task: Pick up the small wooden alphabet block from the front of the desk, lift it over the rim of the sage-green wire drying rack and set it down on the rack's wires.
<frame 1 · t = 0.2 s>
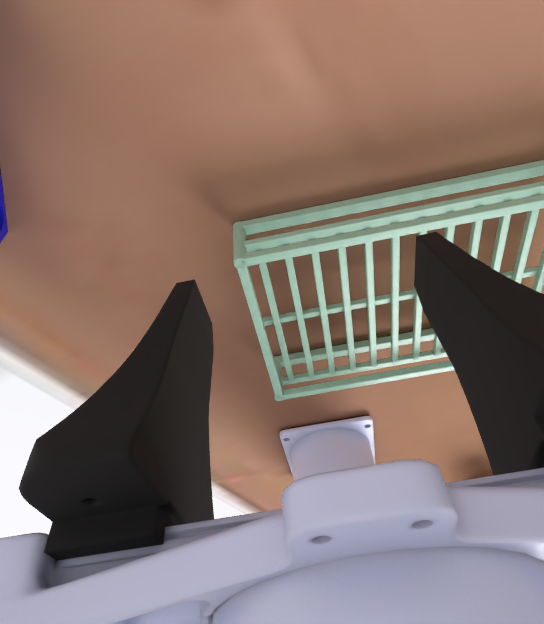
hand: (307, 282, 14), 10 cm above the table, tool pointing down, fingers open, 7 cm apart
rack: (395, 275, 28), on the table
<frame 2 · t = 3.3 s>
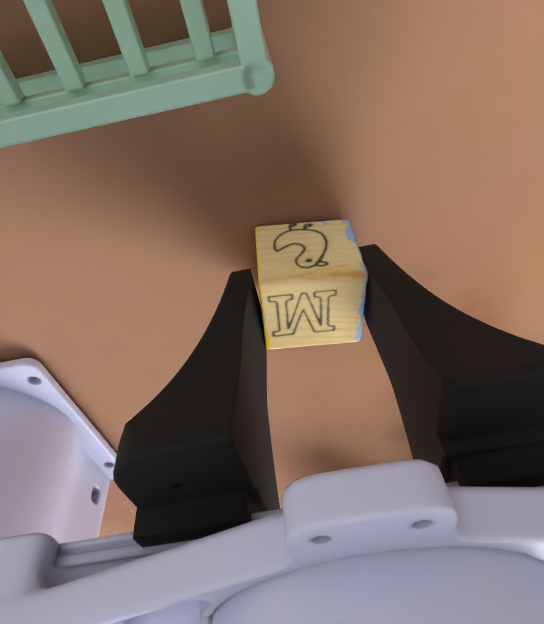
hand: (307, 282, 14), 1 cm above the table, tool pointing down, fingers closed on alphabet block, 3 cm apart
alphabet block: (301, 254, 16), on the table, touching gripper
when the fingers open (4 cm above the table, at t = 7.2 s): alphabet block stays where it is, resting on rack.
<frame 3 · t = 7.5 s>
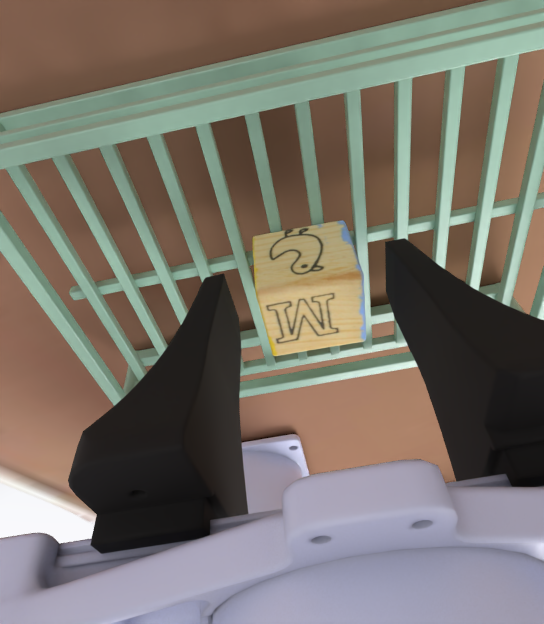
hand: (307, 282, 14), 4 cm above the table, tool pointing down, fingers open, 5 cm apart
alphabet block: (302, 258, 16), point 2 cm above the table, touching rack
rack: (294, 220, 17), on the table
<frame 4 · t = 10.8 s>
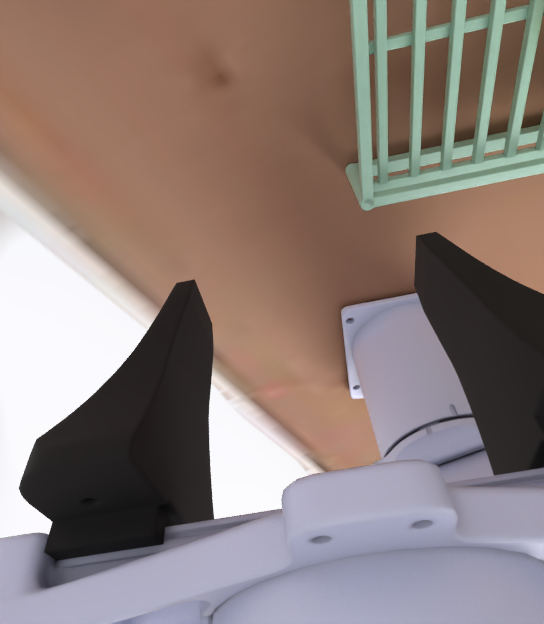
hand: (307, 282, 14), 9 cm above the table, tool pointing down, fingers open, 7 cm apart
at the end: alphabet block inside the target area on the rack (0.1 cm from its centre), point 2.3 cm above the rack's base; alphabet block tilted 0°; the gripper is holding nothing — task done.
